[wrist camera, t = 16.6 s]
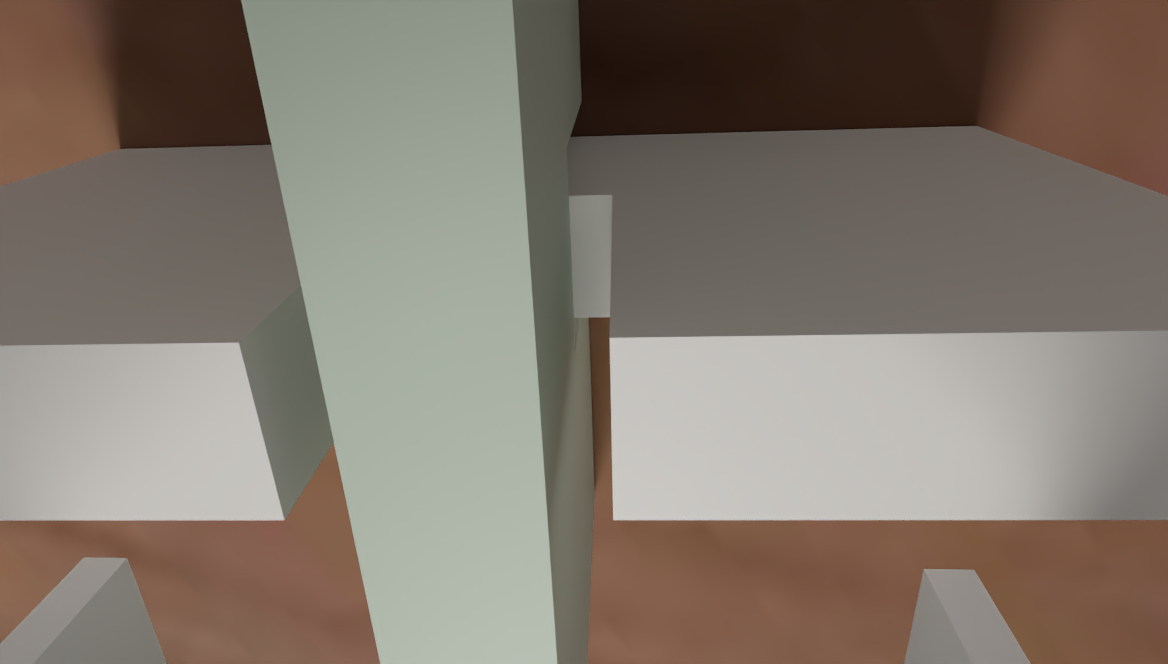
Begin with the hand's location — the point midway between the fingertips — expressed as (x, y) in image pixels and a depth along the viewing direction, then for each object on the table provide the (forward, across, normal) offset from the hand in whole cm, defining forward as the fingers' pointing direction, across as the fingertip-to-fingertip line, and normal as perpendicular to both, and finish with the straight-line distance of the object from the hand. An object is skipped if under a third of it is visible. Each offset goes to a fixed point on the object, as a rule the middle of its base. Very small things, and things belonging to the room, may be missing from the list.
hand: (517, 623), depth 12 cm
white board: (+10, 0, -5) cm, 11 cm away
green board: (+10, 0, -5) cm, 11 cm away
